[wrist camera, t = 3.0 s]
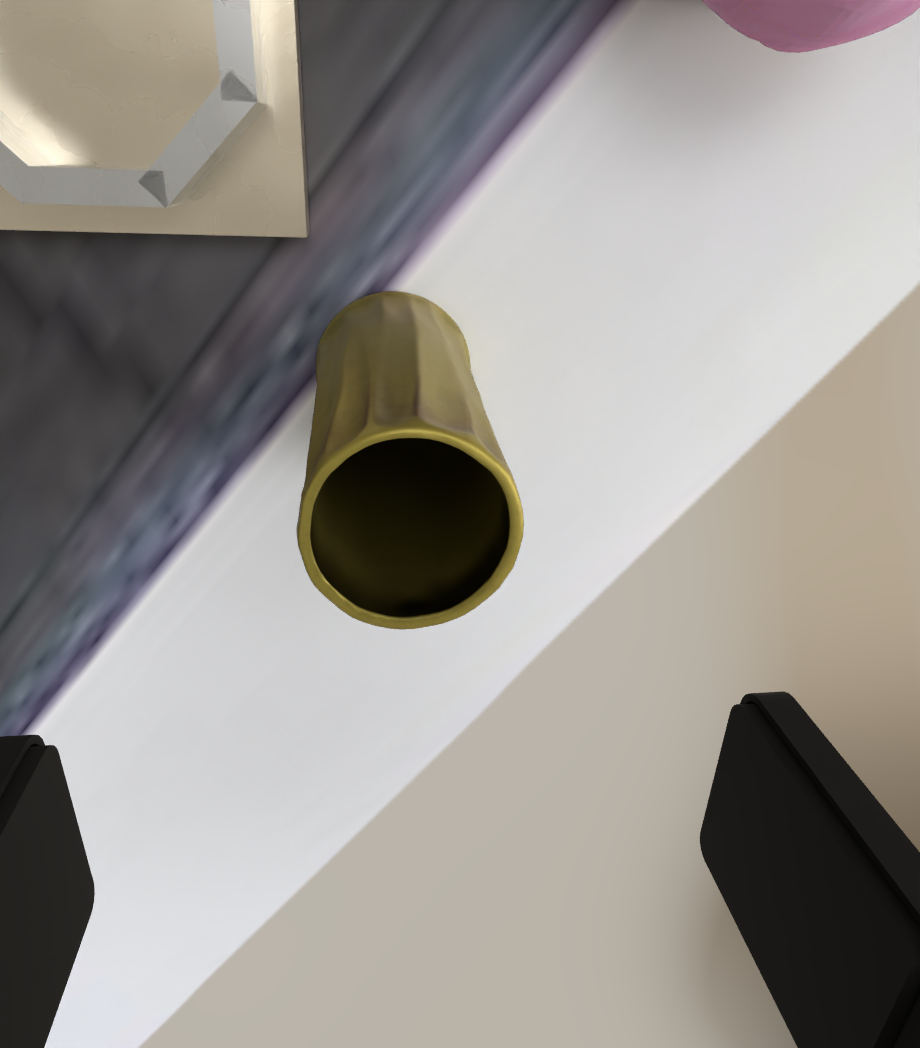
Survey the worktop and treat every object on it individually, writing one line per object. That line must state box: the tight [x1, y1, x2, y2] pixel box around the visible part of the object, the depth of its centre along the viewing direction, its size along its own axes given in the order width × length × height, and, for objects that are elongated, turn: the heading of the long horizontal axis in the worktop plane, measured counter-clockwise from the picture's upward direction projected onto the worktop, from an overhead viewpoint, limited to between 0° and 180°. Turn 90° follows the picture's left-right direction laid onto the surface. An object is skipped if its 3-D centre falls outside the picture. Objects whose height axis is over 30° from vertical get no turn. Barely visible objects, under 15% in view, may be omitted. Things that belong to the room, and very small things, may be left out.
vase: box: [297, 291, 524, 629], centre depth 23 cm, size 6×6×14 cm
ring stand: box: [0, 0, 310, 238], centre depth 22 cm, size 12×12×4 cm
